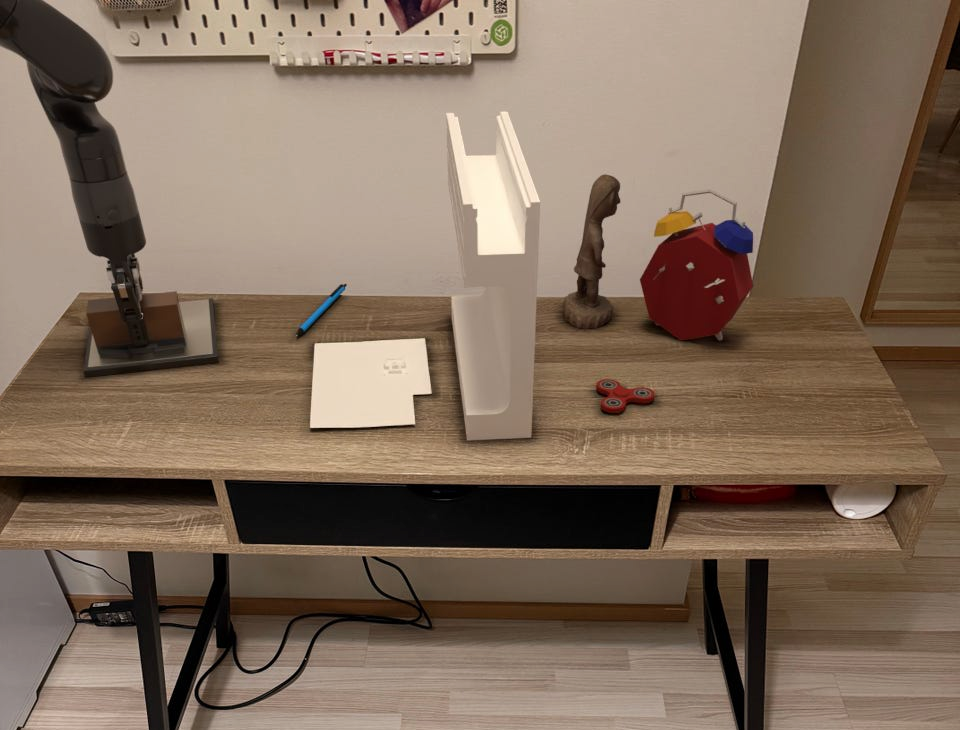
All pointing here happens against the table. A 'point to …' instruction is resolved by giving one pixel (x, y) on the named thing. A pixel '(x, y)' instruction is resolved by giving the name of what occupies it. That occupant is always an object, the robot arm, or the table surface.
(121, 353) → the stroke
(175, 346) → the stroke
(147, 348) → the stroke
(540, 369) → the table surface
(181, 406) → the table surface
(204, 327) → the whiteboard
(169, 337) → the eraser
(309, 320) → the pen
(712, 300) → the alarm clock
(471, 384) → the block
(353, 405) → the paper
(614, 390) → the fidget spinner
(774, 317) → the table surface
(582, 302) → the figurine
